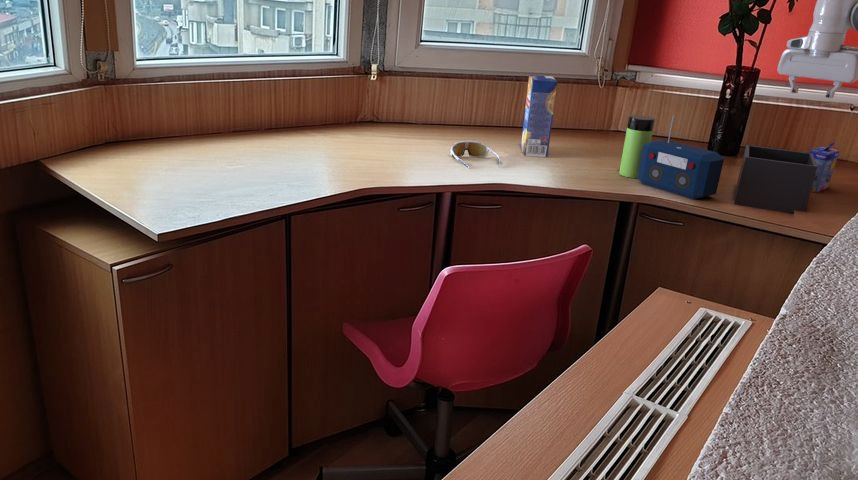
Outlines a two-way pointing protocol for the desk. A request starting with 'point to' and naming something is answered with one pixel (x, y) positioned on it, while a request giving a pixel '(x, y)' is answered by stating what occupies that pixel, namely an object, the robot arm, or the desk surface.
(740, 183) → the dark grey storage bin
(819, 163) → the ink cartridge box
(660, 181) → the radio
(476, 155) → the sunglasses
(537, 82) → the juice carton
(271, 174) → the desk surface
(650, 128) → the tumbler
